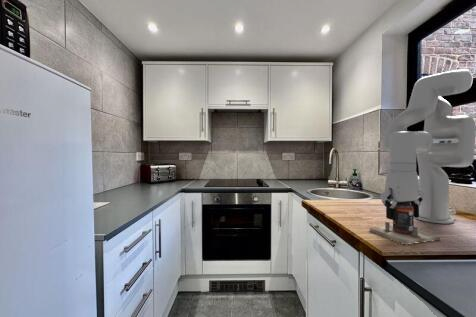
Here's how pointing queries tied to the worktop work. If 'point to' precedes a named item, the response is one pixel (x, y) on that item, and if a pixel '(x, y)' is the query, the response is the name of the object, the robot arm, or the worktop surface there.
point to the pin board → (403, 234)
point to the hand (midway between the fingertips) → (402, 217)
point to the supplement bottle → (404, 218)
